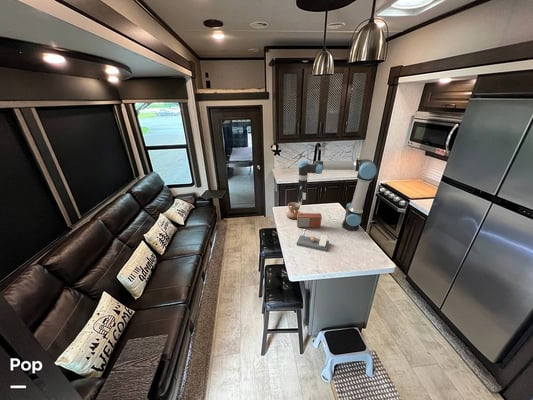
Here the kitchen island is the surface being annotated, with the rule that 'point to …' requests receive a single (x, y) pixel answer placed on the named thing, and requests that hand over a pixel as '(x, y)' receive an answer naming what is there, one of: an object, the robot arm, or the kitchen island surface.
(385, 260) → the kitchen island surface
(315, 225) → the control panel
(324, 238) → the rocker switch
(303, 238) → the toggle lever
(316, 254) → the kitchen island surface
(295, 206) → the ceramic jug
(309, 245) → the switch panel
